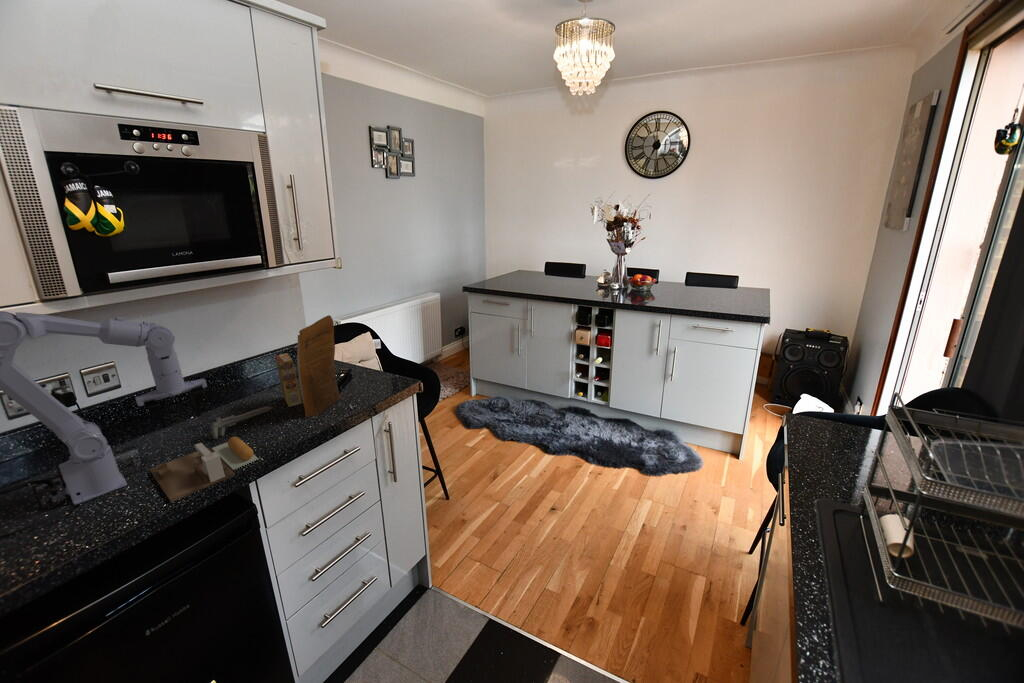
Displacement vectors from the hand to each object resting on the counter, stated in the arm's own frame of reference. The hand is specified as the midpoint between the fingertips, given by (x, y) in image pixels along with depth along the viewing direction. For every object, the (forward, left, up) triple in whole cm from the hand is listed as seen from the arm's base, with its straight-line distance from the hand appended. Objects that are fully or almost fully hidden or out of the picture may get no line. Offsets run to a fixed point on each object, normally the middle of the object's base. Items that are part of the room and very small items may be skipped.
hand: (181, 421), depth 118 cm
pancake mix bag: (+37, -1, -10) cm, 38 cm away
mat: (+8, -10, -10) cm, 16 cm away
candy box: (+32, +12, -10) cm, 36 cm away
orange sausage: (+7, -11, -9) cm, 16 cm away
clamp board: (-2, -11, -10) cm, 15 cm away
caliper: (+16, +8, -10) cm, 21 cm away
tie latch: (+1, -15, -9) cm, 17 cm away
